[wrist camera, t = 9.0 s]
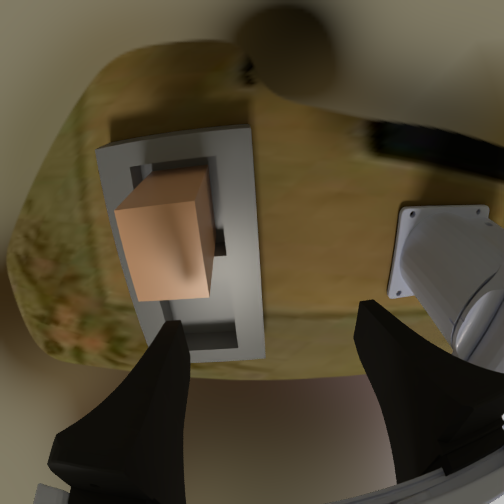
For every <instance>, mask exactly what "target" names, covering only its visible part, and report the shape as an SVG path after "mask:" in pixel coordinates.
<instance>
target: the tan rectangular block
mask: <svg viewBox="0 0 504 504" xmlns="http://www.w3.org/2000/svg"><path fill="white" fill-rule="evenodd" d="M114 213H115V217H116V221H117V225H118V229H119V234H120V238H121V241H122V245H123V249H124V253H125V257H126V260H127V264H128V268H129V271H130V275H131V278H132V281H133V285H134V288H135V291H136V295H137V298H138V301H139V302H140V301H160V300H178V299H194V298H209V297H210V288H211V279H212V269H213V260H214V251H215V243H216V228H215V220H214V212H213V203H212V195H211V186H210V177H209V168H208V165H200V166H191V167H182V168H174V169H166V170H159V171H152V172H151V173H150V174H149V175H148V176H147V177H146V178H145V179H144V180H143V181H142V182H141V183H140V184H139V185H138V186H137V187H136V188H135V189H134V190H133V191H132V192H131V193H130V194H129V195H128V196H127V197H126V198H125V199H124V200H123V202H122V203H121V204H120V205H119V206H118V207H117V208H116V209H115V210H114Z"/></svg>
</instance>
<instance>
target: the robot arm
mask: <svg viewBox="0 0 504 504" xmlns="http://www.w3.org/2000/svg"><path fill="white" fill-rule="evenodd" d="M477 210H478V211H477ZM412 211H413V214H412V215H411V216H410V213H411V212H412ZM476 212H477V213H476ZM488 216H489V207H488V206H487V205H444V206H410V207H403V208H402V209H401V210H400V213H399V221H398V229H397V236H396V243H395V250H394V256H393V262H392V268H391V274H390V280H389V285H388V290H387V295H388V297H389V298H391V299H393V298H400V297H406V296H413V295H415V296H416V298H417V299H418V300H419V302H420V303H421V304H422V306H423V307H424V309H425V310H426V311H427V313H428V314H429V316H430V317H431V318H432V320H433V321H434V323H435V324H436V326H437V327H438V328H439V330H440V331H441V333H442V334H443V336H444V337H445V339H446V340H447V342H448V343H449V345H450V346H451V348H452V349H453V353H452V354H450V353H448V352H446V351H444V350H442V349H441V348H439V347H437V346H435V345H434V344H432V343H430V342H429V341H427V340H426V339H424V338H423V337H421V336H420V335H419V334H417V333H416V332H414V331H413V330H412V329H410V328H409V327H408V326H406V325H405V324H404V323H402V322H401V321H400V320H399V319H397V318H396V317H395V316H394V315H392V314H391V313H390V312H389V311H387V310H386V309H385V308H384V307H382V306H381V305H380V304H379V303H377V302H376V301H375V300H366V301H360V303H359V309H358V315H357V321H356V326H355V332H354V337H353V338H354V341H355V345H356V348H357V352H358V355H359V358H360V360H361V363H362V365H363V367H364V369H365V372H366V374H367V376H368V378H369V380H370V383H371V385H372V387H373V389H374V392H375V394H376V396H377V399H378V401H379V404H380V407H381V410H382V413H383V416H384V420H385V424H386V428H387V432H388V436H389V440H390V444H391V449H392V454H393V460H394V465H395V473H396V480H397V485H394V486H391V487H388V488H385V489H382V490H378V491H375V492H372V493H368V494H364V495H360V496H356V497H353V498H348V499H344V500H340V501H335V502H330V503H325V504H489V503H491V502H492V501H494V500H496V499H497V498H499V497H500V496H502V495H503V494H504V229H503V228H502V227H500V226H499V225H497V224H496V223H495V222H493V221H492V220H490V219H489V218H488ZM398 291H399V292H398ZM397 292H398V293H397ZM189 382H190V352H189V349H188V345H187V341H186V338H185V334H184V330H183V326H182V323H181V320H171V321H165V323H164V324H163V326H162V327H161V329H160V330H159V332H158V334H157V335H156V337H155V338H154V340H153V341H152V343H151V344H150V346H149V347H148V349H147V350H146V352H145V353H144V355H143V356H142V358H141V359H140V360H139V362H138V363H137V364H136V365H135V367H134V368H133V369H132V371H131V372H130V373H129V374H128V376H127V377H126V378H125V379H124V381H123V382H122V383H121V384H120V385H119V386H118V387H117V388H116V389H115V390H114V391H113V392H112V393H111V394H110V395H109V396H108V397H107V398H106V399H105V400H104V401H103V402H102V403H100V404H99V405H98V406H97V407H96V408H95V409H93V410H92V411H91V412H90V413H88V414H87V415H86V416H84V417H83V418H82V419H80V420H79V421H77V422H76V423H74V424H73V425H71V426H69V427H68V428H66V429H65V430H63V431H61V432H60V433H58V434H57V435H56V437H55V439H54V442H53V446H52V449H51V452H50V456H49V460H48V463H47V465H48V466H49V468H50V470H51V471H52V472H53V473H54V474H55V475H57V476H58V477H59V478H61V479H62V480H63V481H64V482H66V483H67V484H68V485H70V486H71V490H70V493H68V492H66V491H64V490H61V489H58V488H54V487H50V486H47V485H44V484H41V483H40V484H38V486H37V490H36V494H35V498H34V503H33V504H186V498H185V485H184V466H183V465H184V464H183V428H184V419H185V411H186V404H187V396H188V389H189Z"/></svg>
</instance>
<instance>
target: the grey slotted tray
mask: <svg viewBox="0 0 504 504" xmlns="http://www.w3.org/2000/svg"><path fill="white" fill-rule="evenodd" d="M95 152H96V158H97V164H98V169H99V174H100V179H101V184H102V189H103V194H104V198H105V203H106V207H107V212H108V216H109V220H110V224H111V228H112V232H113V236H114V240H115V244H116V247H117V251H118V255H119V258H120V262H121V265H122V269H123V272H124V276H125V279H126V282H127V285H128V289H129V292H130V295H131V298H132V301H133V304H134V307H135V310H136V313H137V316H138V319H139V322H140V325H141V328H142V331H143V333H144V336H145V339H146V342H147V344H148V347H149V346H150V344H151V343H152V341H153V340H154V338H155V337H156V335H157V334H158V332H159V330H160V329H161V327H162V326H163V324H164V323H165V321H171V320H181V323H182V326H183V330H184V334H185V338H186V341H187V345H188V349H189V352H190V363H198V362H220V361H236V360H250V359H262V358H265V341H264V324H263V307H262V291H261V274H260V258H259V242H258V227H257V211H256V196H255V181H254V166H253V151H252V136H251V127H250V125H249V124H240V125H228V126H217V127H208V128H199V129H191V130H183V131H175V132H168V133H161V134H155V135H149V136H143V137H137V138H131V139H126V140H121V141H116V142H111V143H108V144H106V145H104V146H102V147H99V148H97V149H95ZM200 165H208V168H209V177H210V186H211V195H212V203H213V212H214V220H215V228H216V243H215V251H214V260H213V269H212V279H211V288H210V297H209V298H194V299H178V300H160V301H140V302H139V301H138V298H137V295H136V291H135V288H134V285H133V281H132V278H131V275H130V271H129V268H128V264H127V260H126V257H125V253H124V249H123V245H122V241H121V238H120V234H119V229H118V225H117V221H116V217H115V213H114V210H115V209H116V208H117V207H118V206H119V205H120V204H121V203H122V202H123V200H124V199H125V198H126V197H127V196H128V195H129V194H130V193H131V192H132V191H133V190H134V189H135V188H136V187H137V186H138V185H139V184H140V183H141V182H142V181H143V180H144V179H145V178H146V177H147V176H148V175H149V174H150V173H151V172H152V171H159V170H166V169H174V168H182V167H191V166H200Z"/></svg>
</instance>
